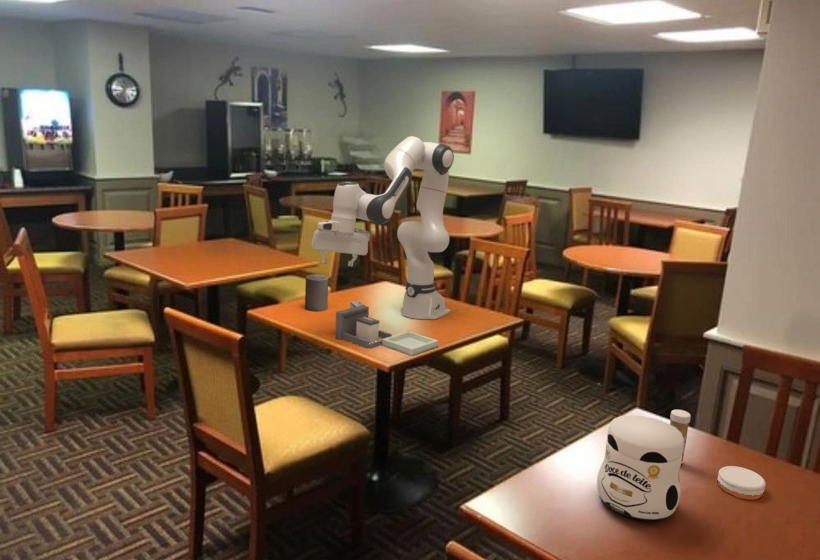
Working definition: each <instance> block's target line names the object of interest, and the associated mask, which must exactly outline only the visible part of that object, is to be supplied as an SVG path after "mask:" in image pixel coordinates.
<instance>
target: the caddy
mask: <svg viewBox="0 0 820 560" xmlns="http://www.w3.org/2000/svg"><path fill="white" fill-rule="evenodd" d="M356 321H357V326H356V335H355V336H356V337H359V338H362V339H364V340H367V341H369V343H372V342H375V341H379V337H378V331H379V330H380V329H379V328H380V319H379V320H378V319H376V318H372V317H370V316H368V317H367V316H364V317H360V318H356Z"/></svg>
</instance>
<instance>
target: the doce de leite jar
mask: <svg viewBox="0 0 820 560" xmlns="http://www.w3.org/2000/svg"><path fill="white" fill-rule="evenodd" d="M606 433H607V439H606V443H605V453H604V458H603V461H602V462H601V465H600V467H599V469H598V473H597V480H596V481H597V483H596V486H597V493H598V496H599V497H600V499H601V500H602V501H603V503H604V504H605V505H606V506H607V505H608V507H609V508H610V509H612V510H613V511H614V512H616V513H618V514H620V513H621V515H622V514H623V516H624V517H627V518H630V519H631V518H632V519H636V520H638V519H639V520H638V521H649V522H650V521H652V522H653V521H658V520H659V521H660V520H665V519H667V518H669V517H670V516H672V515H673V514H674V513H675V511H676V509H677V508H678V506H679V505H678V504H679V502H680V499H681V490H682V489H681V484H680V469H681V466H682V465H681V460H682V452H683V446H684V439H683V436H682V433H681V432H680V431H679V430H678V429H677V428H675V427H674V426H672V425H670V423H668V422H666V421H663V420H660V419H658V418H654V417H649V416H645V415H635V414H634V415H633V414H631V415H629V414H628V415H621V416H618V417H615V418H613V419H612V421H610V423H609V425H608V430H607V432H606Z"/></svg>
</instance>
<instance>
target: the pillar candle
mask: <svg viewBox="0 0 820 560" xmlns="http://www.w3.org/2000/svg"><path fill="white" fill-rule="evenodd" d="M329 278H330V277H329V276H327V275H325V274H308V275H306V276H305V289H304V291H305V293H304V294H305V295H304V297H305V298H304V309H305V310H306V309H307V310H306V311H310V312H323V311H322V310H324V311H327V310H328V305H329V303H328V301H329ZM326 309H327V310H326Z"/></svg>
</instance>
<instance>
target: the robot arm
mask: <svg viewBox="0 0 820 560" xmlns="http://www.w3.org/2000/svg"><path fill="white" fill-rule="evenodd" d="M454 159H455V154H454V152H453V149H452V147H451V146H449V145H447V144H444V143H438V142H433V141H422V139H420V138H419V137H416V136H414V135H409V136H407V137H406V138H404V139H403V140H401V142H399V143H398V144H397V145H396V146H395V147H394V148H392V150H391V151H390V152H389V154H388V155H387V156H386V158H385V160H384V161H383V169H384V171H385V174H386V175H387V176H388V178H389V179H390V180H392V181H391V183H390V184H389V186H388V187H387V189H386V190H385V192H384V193H382V194H372V193H367V192H366V191H365V190H363V189H362V188H361V187H360V185H359V182H356V181H341V182H338V183H337V185H336V188H335V189H334V190H335V191H334V195H333V202H332V207H333V208H332V209H333V210H332V214H331V216H330V220H324V221H319V222H318V223H317V229H315V231H314V232H313V236H312V239H311V245H310V246H311V249H313V250H314V251H315V250H316V251H320V253H319V254H320V255H321V258H322V260H321V263H322V264H328V258H326V257H325V254H326V252H330V253H331V252H333V253H340V254H341V253H342V254H348V255H352V259H351V260H348V263H347V266H348V267H353V266H354V262H355V261H356V260H357V258H358V256H366V255H367V254H368V252H369V251H368V250H369V241H370V238H371V233H370V232H369V231H367V229H360V228H356V223H357V219H359V220H364V221H366V222H367V221H368V222H372V223H375V224H378V225H384V224H386V223H388V222H389V221H390V220H391V218H392V217H393V215H394V212H395V210H396V207H397V205H398V204H399V202H400V200H401V199H402V197H403V195H405V193H406V191H407V189H408V187H409V186H410V184H411V181H412V179H413V174H412V173H413V172H414V170H415V169H418V170H423V176H422V179H421V183H420V187H419V191H418V194H417V195H418V196H417V200H416V206H415V207H416V209H417V210H418V212H419V214H420V219H421V220H420V221H418V220H417V221H416V220H409V221H404V222H402V223H401V224H400V225H399V226H398V227H397V233H396V236H397V239H398V241H399V242H400V244H401V245H402V248H403V250H404V253H405V256H406V263H407V275H406V276H407V278H406V281H405V292H404V295H403V301H402V307H400V308H401V309H400V311H401V315H402V316H404V317H406V318H409V319H414V320H415V319H416V320H417V319H418V320H437V319H439V318H441V317H444V316H446V315H447V314H450V313H451V309H450V308H448V307H446V299H445V297H444V296H442V295H441V293H440V292H438V290H436V289H437V288H439V287H440V286H441V284H440V282H437V281H434V278H435V277H434V276H435V264H434V262H433V260H432V259H431V257H430V255H429V253H442V252H444V251H445V250H446V249H447V248H448V246H449V244H450V234H449V232H448V231H447V229H446V226H445V223H444V216H443V215H444V206H445V201H446V196H447V192H448V187H449V178H450V177H449V176H450V175H449V174H450V172H449V170H450V169H451V167H452V166H453V163H454Z"/></svg>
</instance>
